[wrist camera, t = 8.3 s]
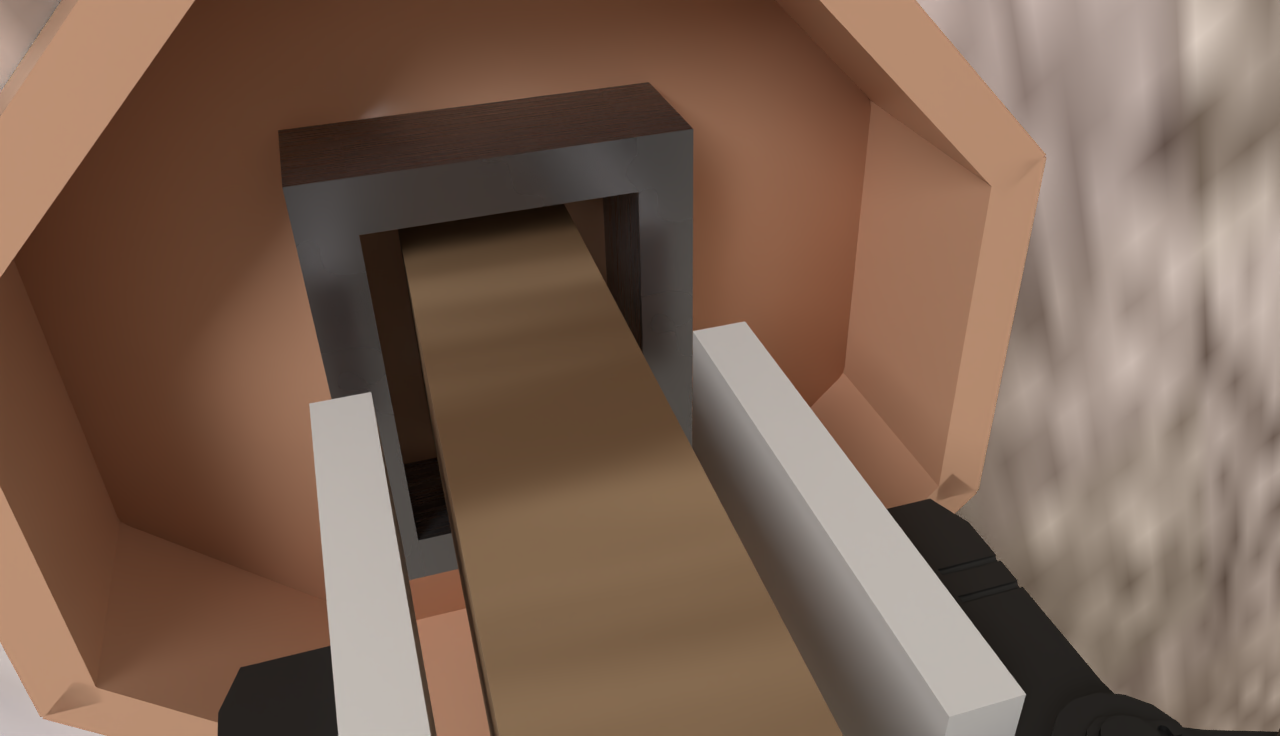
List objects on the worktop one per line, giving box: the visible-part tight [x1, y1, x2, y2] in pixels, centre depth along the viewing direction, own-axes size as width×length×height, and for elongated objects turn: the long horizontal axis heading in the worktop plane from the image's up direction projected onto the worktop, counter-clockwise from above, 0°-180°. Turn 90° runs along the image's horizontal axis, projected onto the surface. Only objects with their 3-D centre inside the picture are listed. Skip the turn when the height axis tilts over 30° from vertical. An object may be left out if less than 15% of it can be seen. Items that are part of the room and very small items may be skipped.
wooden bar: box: [398, 204, 843, 736], centre depth 12 cm, size 4×2×14 cm, turn 2°
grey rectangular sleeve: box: [278, 82, 693, 580], centre depth 17 cm, size 7×5×2 cm
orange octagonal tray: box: [0, 0, 1046, 736], centre depth 16 cm, size 15×15×4 cm
